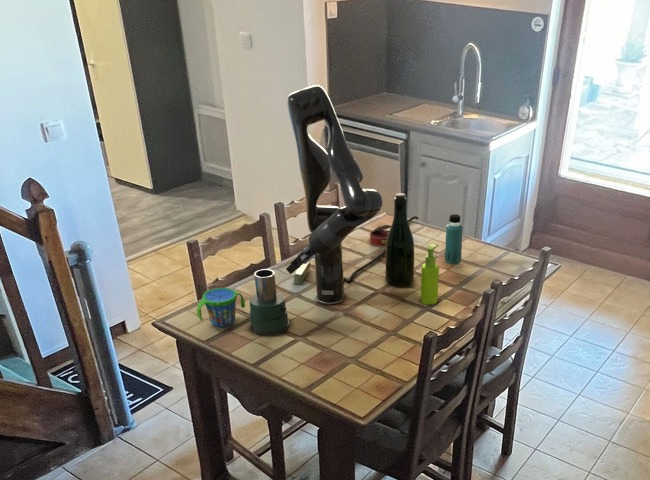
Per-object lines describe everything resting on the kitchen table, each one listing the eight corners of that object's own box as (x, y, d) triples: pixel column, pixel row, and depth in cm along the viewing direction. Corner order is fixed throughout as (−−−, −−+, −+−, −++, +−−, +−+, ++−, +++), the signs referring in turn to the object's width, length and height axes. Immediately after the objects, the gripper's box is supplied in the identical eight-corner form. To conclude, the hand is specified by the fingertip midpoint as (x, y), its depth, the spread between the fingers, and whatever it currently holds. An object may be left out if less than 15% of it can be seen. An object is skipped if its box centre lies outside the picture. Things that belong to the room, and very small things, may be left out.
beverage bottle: (464, 263, 266) (467, 214, 255) (455, 269, 261) (458, 219, 250) (449, 259, 269) (452, 210, 258) (440, 265, 264) (443, 216, 253)
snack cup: (240, 310, 230) (236, 282, 225) (252, 323, 223) (249, 295, 218) (194, 321, 223) (189, 293, 218) (205, 336, 216) (200, 307, 210)
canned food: (373, 255, 282) (361, 235, 277) (378, 243, 289) (366, 223, 285) (397, 246, 277) (385, 225, 272) (401, 234, 285) (390, 213, 280)
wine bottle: (397, 291, 245) (398, 201, 227) (379, 280, 251) (378, 193, 234) (419, 282, 251) (422, 195, 233) (401, 273, 257) (402, 187, 240)
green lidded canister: (263, 314, 228) (260, 287, 223) (296, 321, 225) (294, 294, 219) (242, 331, 219) (239, 303, 213) (276, 339, 215) (273, 311, 210)
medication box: (300, 285, 247) (301, 275, 245) (293, 283, 247) (293, 273, 245) (309, 270, 257) (310, 260, 255) (302, 268, 257) (303, 259, 255)
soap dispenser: (441, 297, 241) (443, 244, 231) (433, 306, 236) (435, 252, 225) (425, 294, 243) (427, 241, 233) (417, 302, 238) (419, 248, 227)
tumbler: (263, 293, 220) (261, 267, 215) (280, 296, 218) (277, 271, 213) (253, 301, 215) (250, 275, 210) (270, 304, 213) (267, 279, 208)
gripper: (331, 217, 201) (299, 247, 211) (307, 234, 190) (274, 265, 199) (347, 237, 202) (315, 266, 212) (325, 255, 191) (292, 285, 201)
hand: (295, 265), depth 206 cm, fingers open, 8 cm apart
